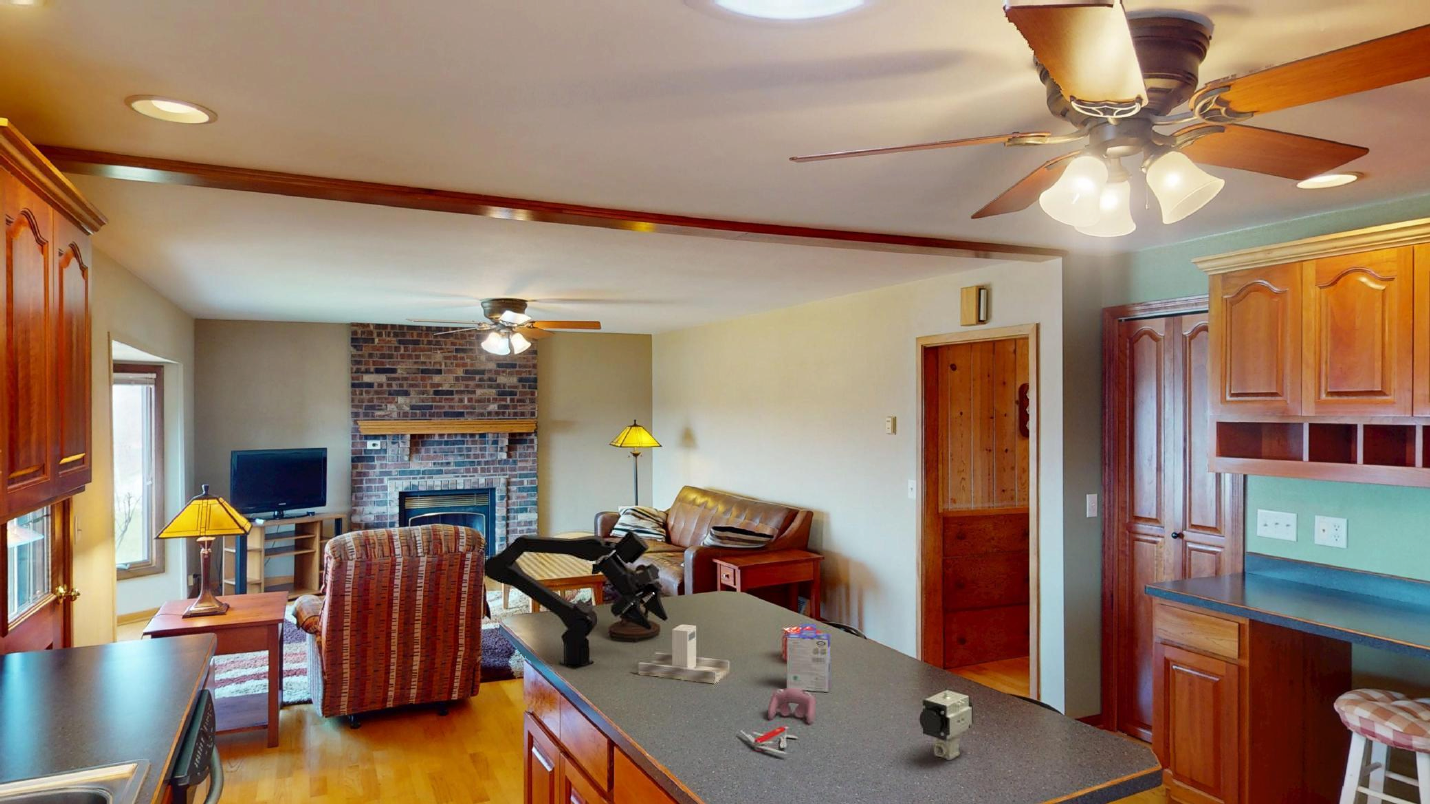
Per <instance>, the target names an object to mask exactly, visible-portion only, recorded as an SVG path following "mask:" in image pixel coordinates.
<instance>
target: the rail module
mask: <svg viewBox="0 0 1430 804" xmlns="http://www.w3.org/2000/svg"><path fill="white" fill-rule="evenodd" d="M671 632H672V634H671V635H672V637H671V639H672V642H671V643H672V644H671V647H672V649H671V650H672V651H671V654H672V666H676V667H685V668H694V667H696V657H697V626H696V625H694V624H693V625H691V624H680V625H678V626H676V627H675V628H673V629H672V630H671Z"/></svg>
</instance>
